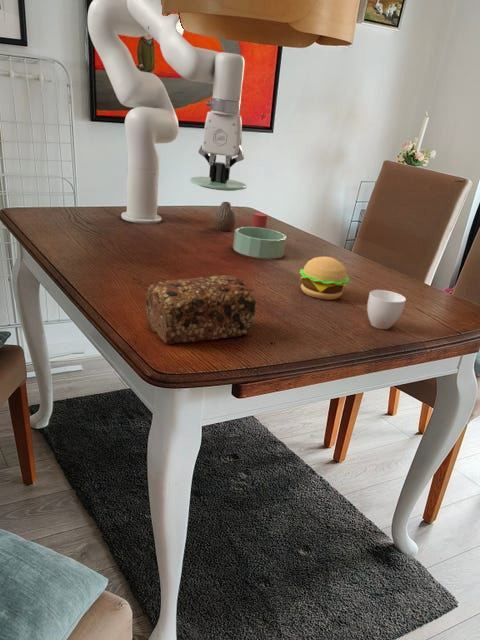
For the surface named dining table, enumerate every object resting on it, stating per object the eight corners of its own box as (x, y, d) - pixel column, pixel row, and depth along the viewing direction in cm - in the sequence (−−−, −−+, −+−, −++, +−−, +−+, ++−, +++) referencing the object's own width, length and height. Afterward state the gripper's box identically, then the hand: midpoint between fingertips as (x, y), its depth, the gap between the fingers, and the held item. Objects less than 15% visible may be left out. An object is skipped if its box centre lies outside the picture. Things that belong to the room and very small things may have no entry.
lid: (199, 178, 172) (200, 156, 169) (250, 187, 170) (253, 164, 167) (183, 185, 158) (184, 161, 155) (239, 194, 156) (241, 170, 153)
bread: (228, 317, 120) (234, 269, 115) (254, 338, 112) (261, 287, 107) (143, 324, 111) (145, 273, 106) (164, 347, 103) (167, 292, 98)
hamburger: (355, 300, 140) (363, 264, 136) (317, 304, 134) (324, 267, 130) (324, 284, 149) (331, 250, 144) (286, 287, 143) (292, 251, 138)
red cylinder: (251, 234, 186) (254, 212, 182) (265, 237, 185) (268, 214, 182) (249, 237, 182) (252, 214, 178) (262, 240, 182) (266, 216, 178)
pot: (239, 243, 175) (241, 224, 172) (286, 251, 173) (289, 232, 170) (227, 254, 162) (230, 234, 159) (278, 263, 160) (282, 243, 158)
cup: (374, 332, 123) (382, 302, 119) (351, 315, 130) (357, 286, 127) (404, 332, 125) (413, 302, 122) (380, 315, 133) (387, 286, 130)
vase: (211, 232, 182) (214, 203, 177) (213, 227, 188) (216, 199, 183) (233, 235, 182) (236, 206, 178) (234, 230, 188) (237, 201, 184)
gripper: (192, 103, 152) (187, 179, 161) (252, 112, 150) (243, 188, 159) (200, 103, 158) (194, 175, 168) (257, 112, 156) (249, 184, 166)
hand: (218, 181), depth 163 cm, fingers closed on lid, 2 cm apart
